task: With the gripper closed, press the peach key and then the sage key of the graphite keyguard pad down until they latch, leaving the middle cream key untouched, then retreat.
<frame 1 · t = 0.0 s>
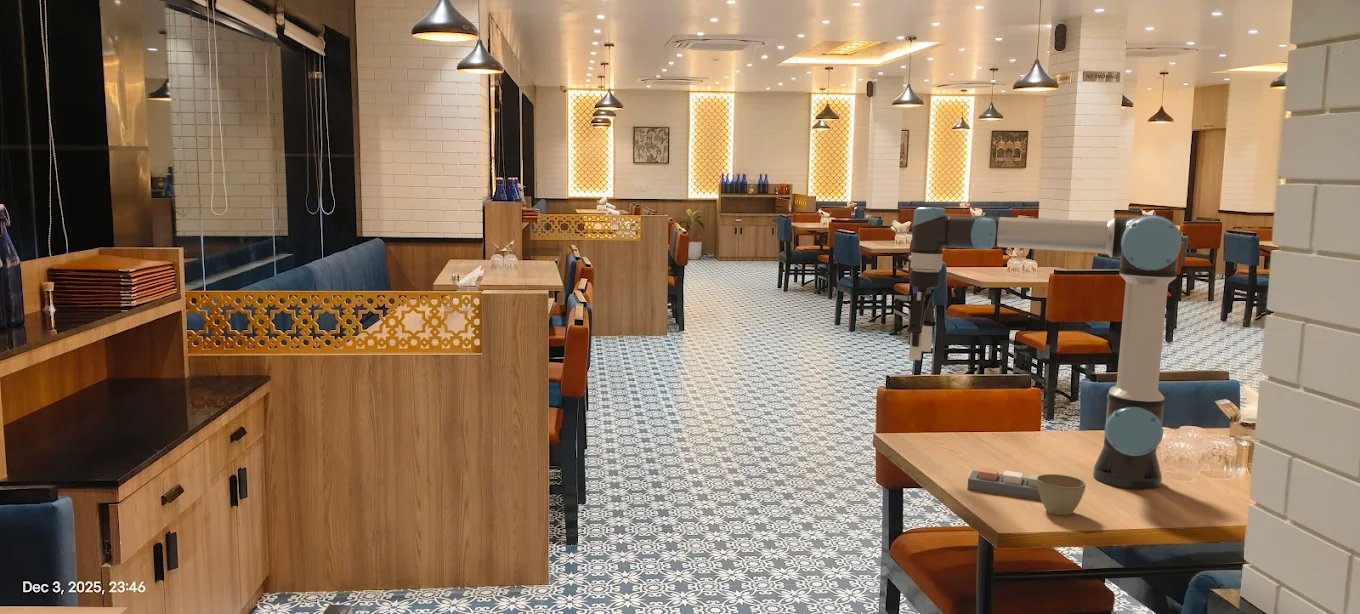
hand: (920, 355, 242), 28 cm above the table, fingers open, 13 cm apart
flower pot: (1058, 512, 213), on the table
sage key: (1037, 482, 224), point 3 cm above the table, slide at 0.0 cm
cream key: (1012, 479, 227), point 3 cm above the table, slide at 0.0 cm
keyguard: (1011, 490, 227), on the table
peach key: (988, 475, 229), point 3 cm above the table, slide at 0.0 cm
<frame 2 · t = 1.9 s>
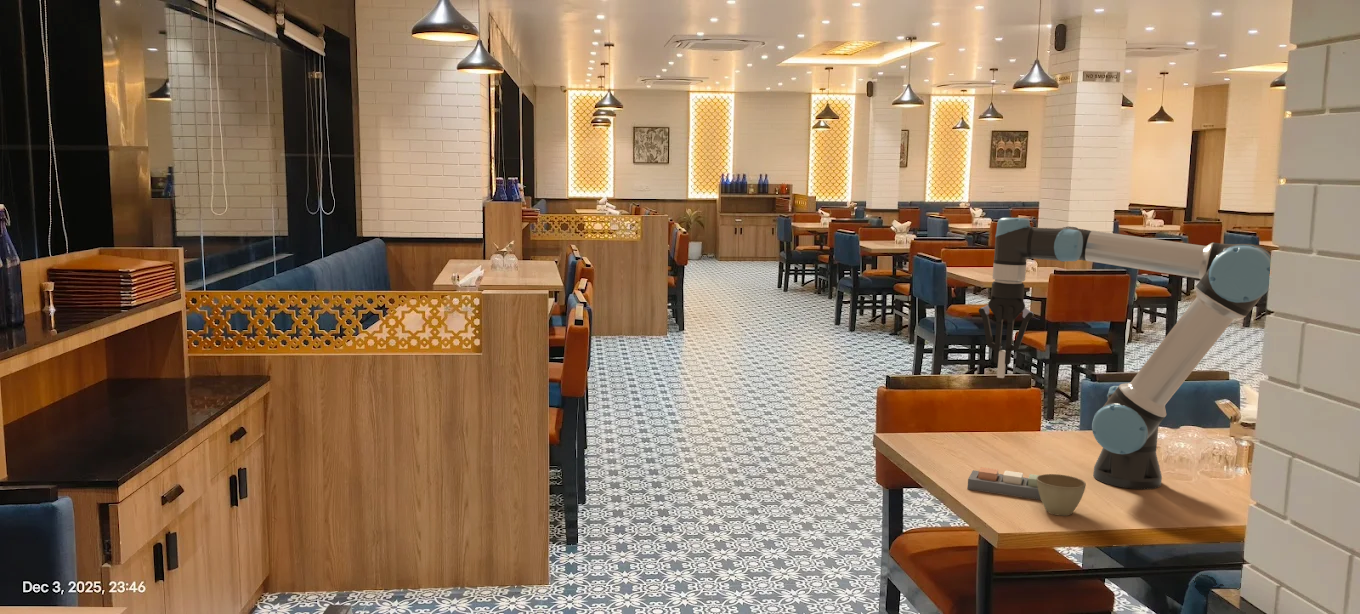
hand: (1000, 376, 239), 24 cm above the table, fingers closed
nothing on the table moved.
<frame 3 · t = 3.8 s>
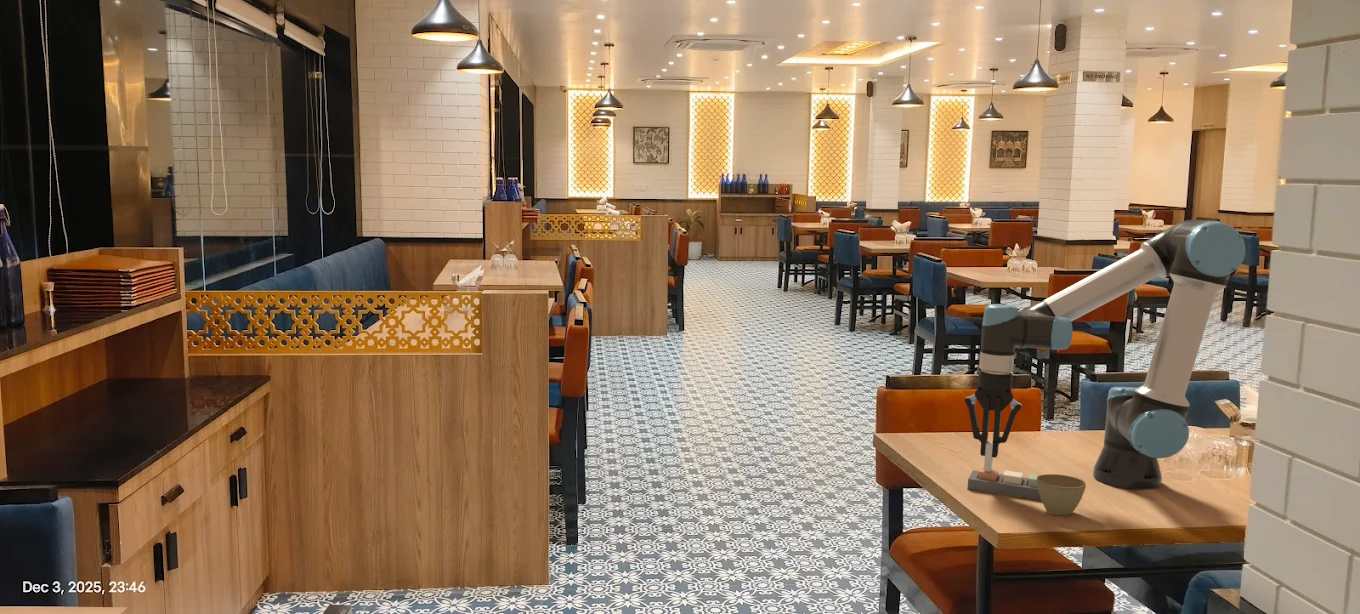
hand: (987, 469, 229), 4 cm above the table, fingers closed
peach key: (988, 475, 229), point 3 cm above the table, slide at 0.1 cm, touching gripper
everything else where it was.
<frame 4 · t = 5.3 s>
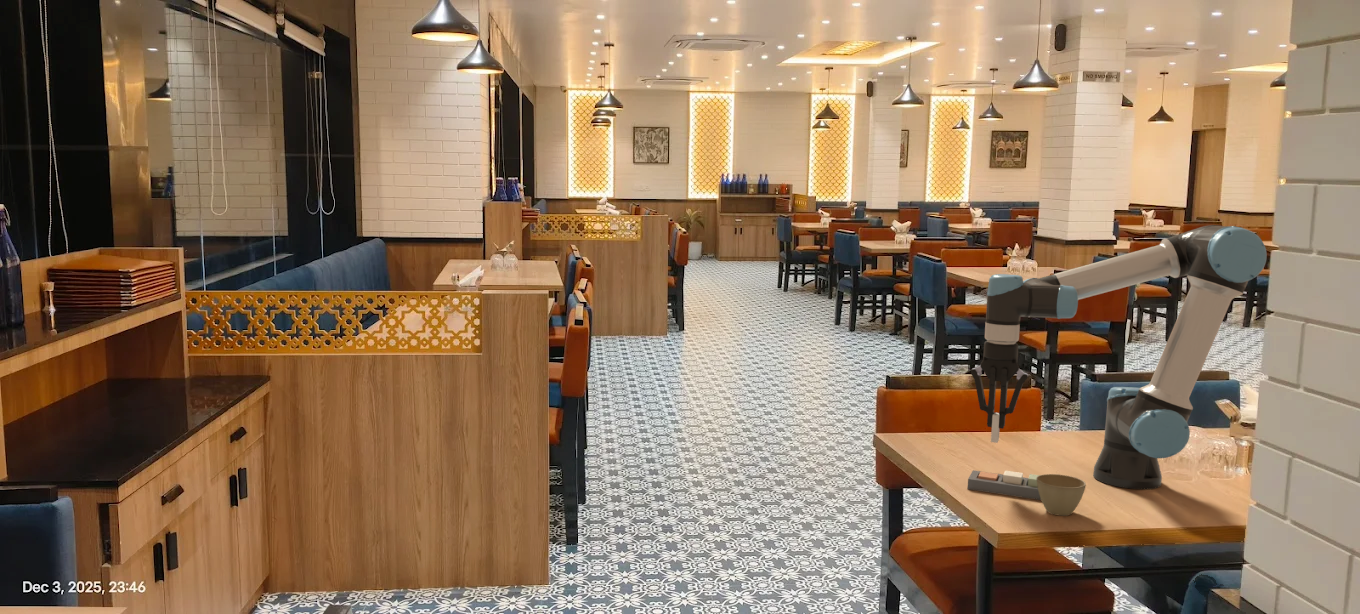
hand: (994, 441, 227), 11 cm above the table, fingers closed
peach key: (987, 480, 229), point 2 cm above the table, slide at 1.1 cm
everything else where it was.
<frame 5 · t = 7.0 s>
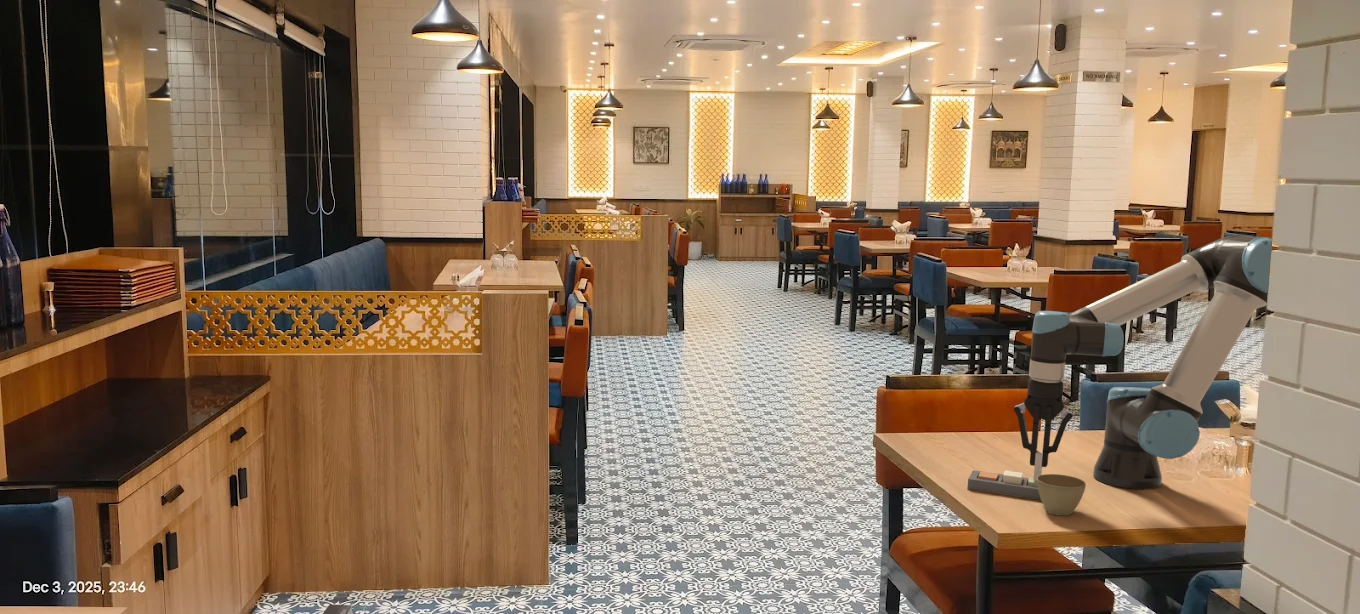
hand: (1037, 479, 224), 3 cm above the table, fingers closed
sage key: (1037, 486, 224), point 2 cm above the table, slide at 0.8 cm, touching gripper
everything else where it was.
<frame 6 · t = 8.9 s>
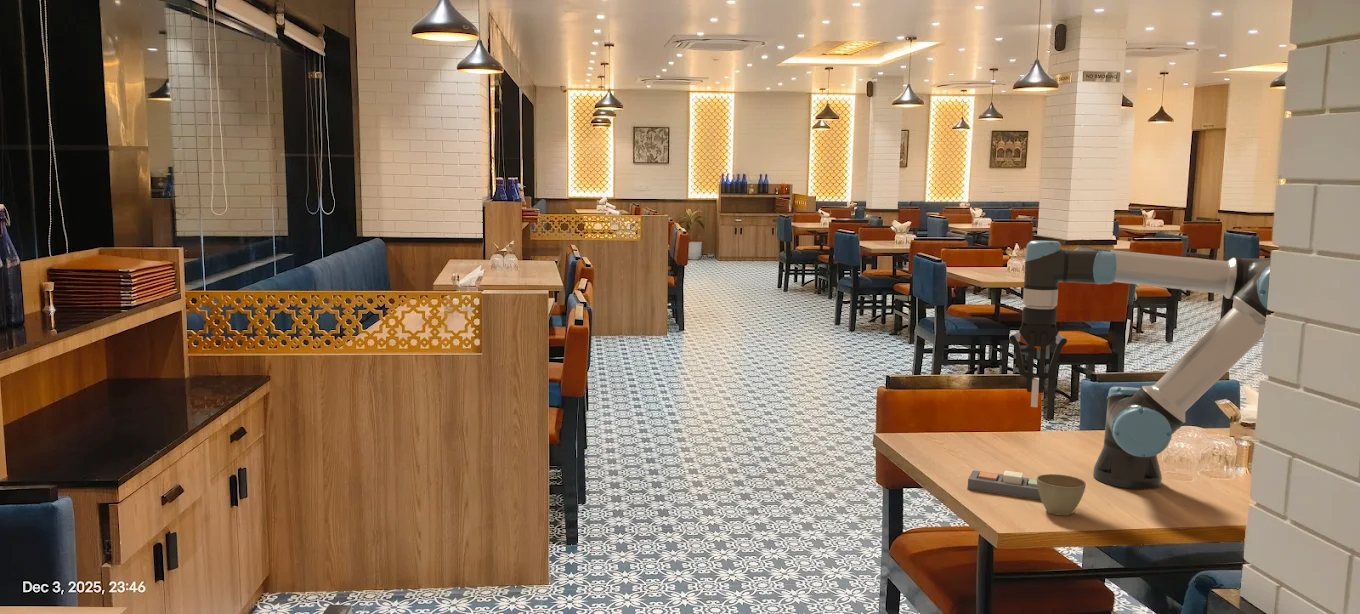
hand: (1034, 405, 230), 19 cm above the table, fingers closed
sage key: (1037, 487, 224), point 2 cm above the table, slide at 1.1 cm
everything else where it was.
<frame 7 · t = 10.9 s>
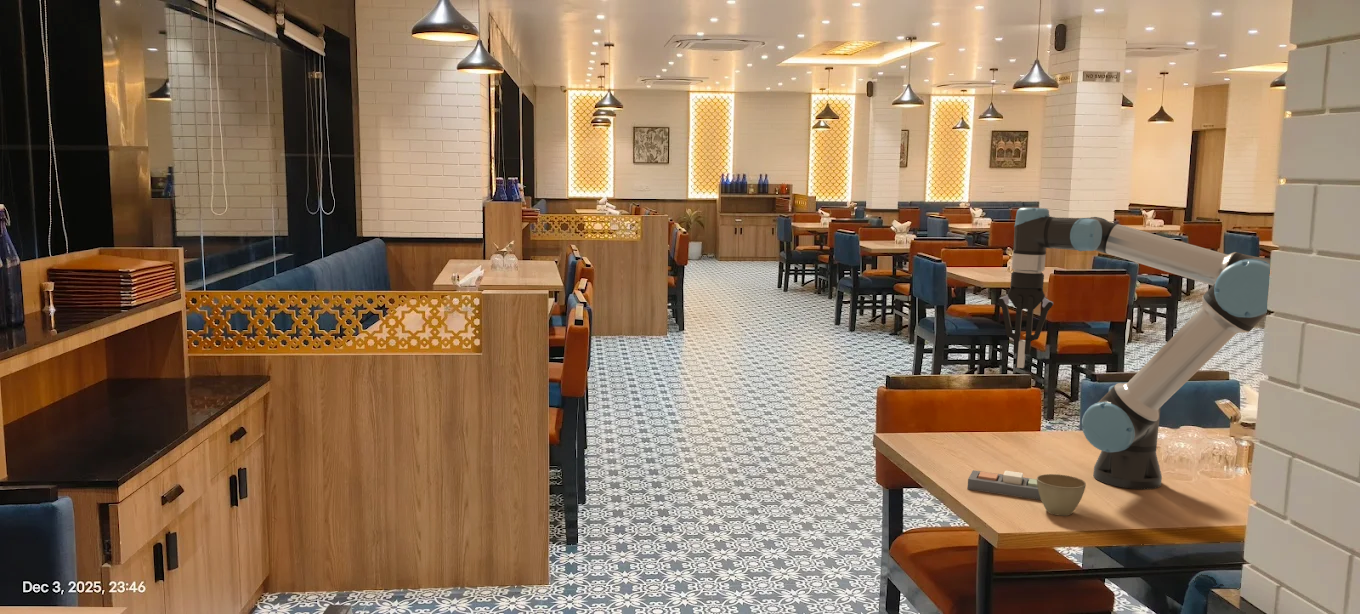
hand: (1020, 366, 240), 26 cm above the table, fingers closed
nothing on the table moved.
at the end: peach key slide at 1.1 cm; sage key slide at 1.1 cm; cream key slide at 0.0 cm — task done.
